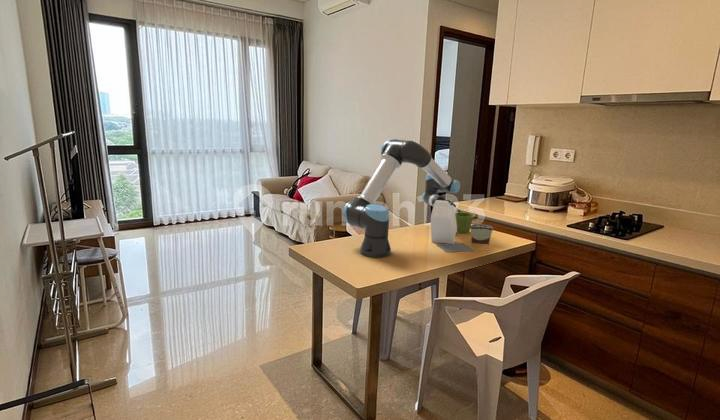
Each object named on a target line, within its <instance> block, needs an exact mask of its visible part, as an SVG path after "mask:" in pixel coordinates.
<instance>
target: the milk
mask: <svg viewBox="0 0 720 420" xmlns="http://www.w3.org/2000/svg"><path fill="white" fill-rule="evenodd" d="M449 203H450V202H449V201H448V200H446V201H442V200H436V201H435V203H434V206H432V210H431V213H430V236H431V242H432V243H438V244H455V240H456V235H457V224H456V216H455V208H454V205H450V204H449Z"/></svg>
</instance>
